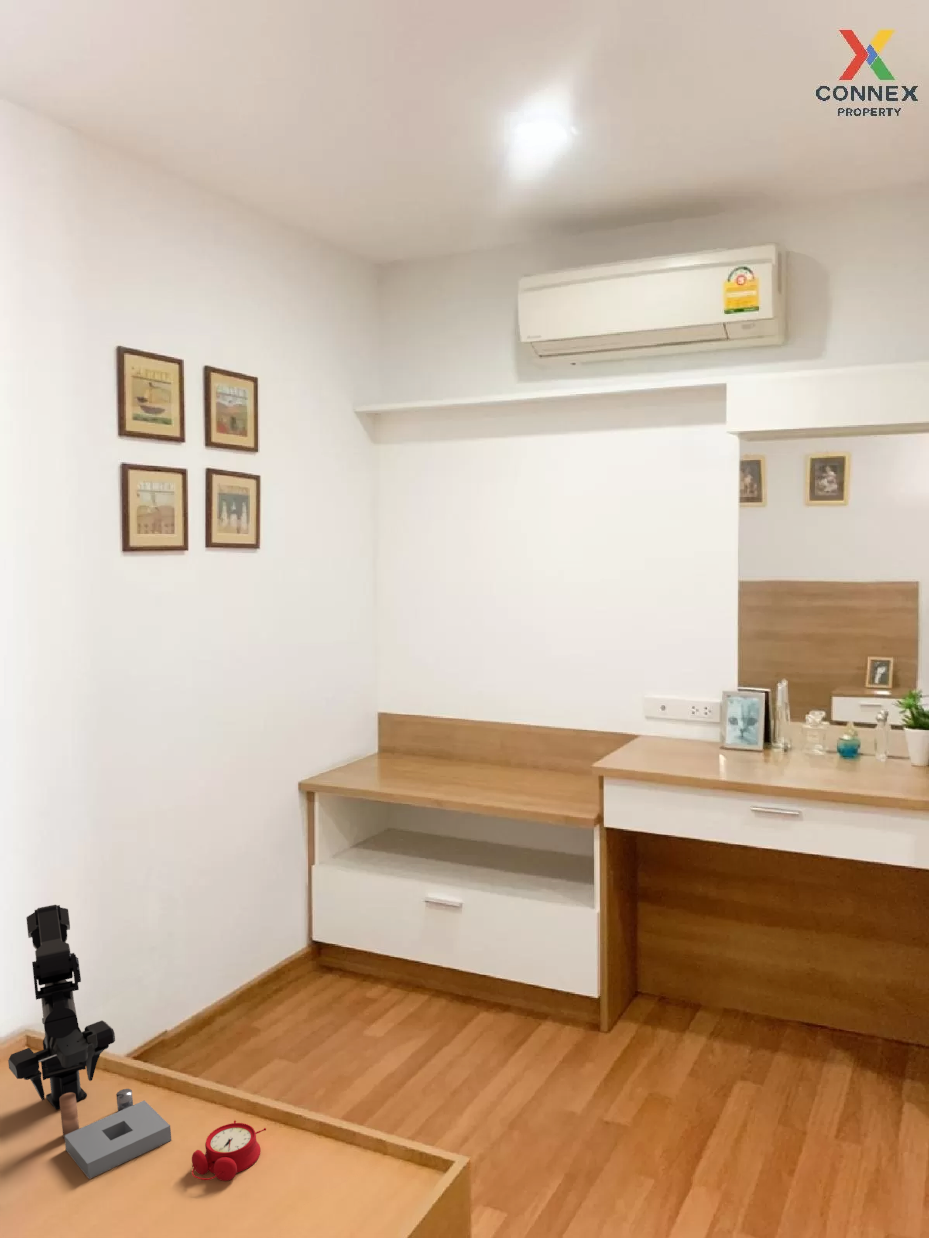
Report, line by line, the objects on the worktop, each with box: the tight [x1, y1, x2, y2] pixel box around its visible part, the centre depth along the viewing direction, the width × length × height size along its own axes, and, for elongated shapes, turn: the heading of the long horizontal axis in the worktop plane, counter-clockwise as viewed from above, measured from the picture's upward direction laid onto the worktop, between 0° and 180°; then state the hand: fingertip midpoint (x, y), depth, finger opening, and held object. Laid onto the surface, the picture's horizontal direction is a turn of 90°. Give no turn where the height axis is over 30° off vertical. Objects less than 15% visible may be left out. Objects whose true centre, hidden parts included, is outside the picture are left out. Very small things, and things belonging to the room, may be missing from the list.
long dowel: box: [59, 1093, 80, 1140], centre depth 197 cm, size 3×3×8 cm
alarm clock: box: [191, 1120, 267, 1182], centre depth 187 cm, size 10×6×15 cm
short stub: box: [115, 1088, 134, 1112], centre depth 205 cm, size 3×3×4 cm
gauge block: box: [64, 1100, 172, 1180], centre depth 194 cm, size 12×16×3 cm
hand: (66, 1089), depth 197 cm, fingers open, 9 cm apart
